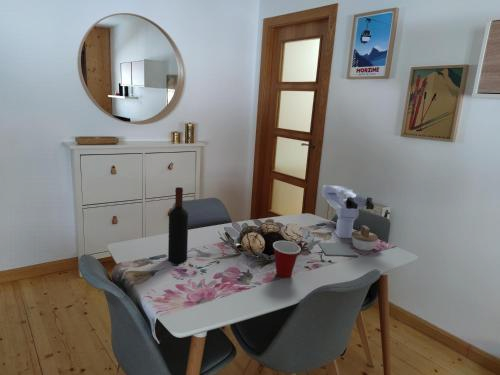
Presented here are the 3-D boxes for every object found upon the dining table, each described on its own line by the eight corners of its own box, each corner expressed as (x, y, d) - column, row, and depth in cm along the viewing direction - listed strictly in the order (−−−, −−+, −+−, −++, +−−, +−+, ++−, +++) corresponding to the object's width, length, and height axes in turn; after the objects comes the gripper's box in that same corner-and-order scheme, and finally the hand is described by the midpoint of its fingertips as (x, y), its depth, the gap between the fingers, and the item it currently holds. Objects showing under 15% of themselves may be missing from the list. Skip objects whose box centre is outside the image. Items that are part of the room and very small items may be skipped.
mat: (317, 243, 181) (317, 242, 181) (345, 244, 182) (346, 243, 182) (326, 255, 167) (326, 254, 167) (356, 256, 169) (356, 255, 169)
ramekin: (365, 253, 173) (366, 242, 172) (346, 245, 182) (347, 234, 180) (380, 249, 179) (381, 238, 178) (360, 241, 188) (362, 231, 187)
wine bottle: (164, 260, 152) (165, 188, 145) (176, 254, 159) (177, 184, 152) (179, 265, 149) (180, 191, 142) (190, 258, 155) (192, 187, 148)
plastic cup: (288, 284, 139) (291, 253, 136) (264, 274, 146) (267, 245, 143) (303, 274, 148) (306, 245, 145) (280, 265, 154) (282, 238, 151)
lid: (347, 231, 185) (349, 222, 183) (371, 232, 186) (372, 223, 185) (356, 241, 173) (358, 231, 172) (381, 241, 174) (383, 232, 173)
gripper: (340, 191, 182) (350, 198, 169) (368, 192, 184) (381, 198, 171) (338, 205, 184) (348, 213, 171) (367, 205, 186) (379, 213, 172)
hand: (364, 207), depth 171 cm, fingers open, 7 cm apart
